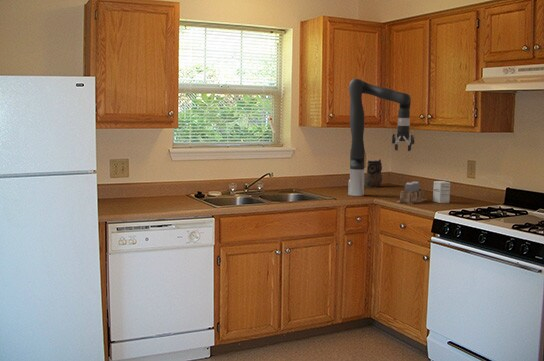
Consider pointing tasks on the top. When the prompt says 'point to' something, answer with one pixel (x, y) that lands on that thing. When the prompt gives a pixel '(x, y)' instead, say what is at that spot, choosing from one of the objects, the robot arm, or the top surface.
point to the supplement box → (441, 192)
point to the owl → (373, 174)
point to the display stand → (411, 197)
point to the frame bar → (412, 187)
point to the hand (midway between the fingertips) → (402, 150)
